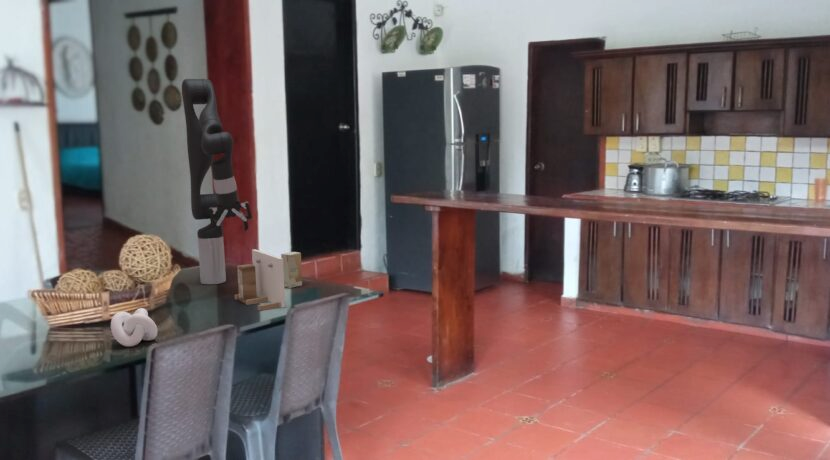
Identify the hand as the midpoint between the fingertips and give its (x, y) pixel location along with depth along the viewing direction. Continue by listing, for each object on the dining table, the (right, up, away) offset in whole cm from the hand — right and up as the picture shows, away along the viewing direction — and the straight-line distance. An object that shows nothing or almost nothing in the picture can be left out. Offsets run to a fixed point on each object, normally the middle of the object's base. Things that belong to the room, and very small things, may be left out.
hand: (233, 232), depth 274 cm
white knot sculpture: (-14, -31, -58) cm, 67 cm away
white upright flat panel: (+12, -23, -17) cm, 32 cm away
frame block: (+8, -23, -15) cm, 28 cm away
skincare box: (+20, -20, +6) cm, 29 cm away
